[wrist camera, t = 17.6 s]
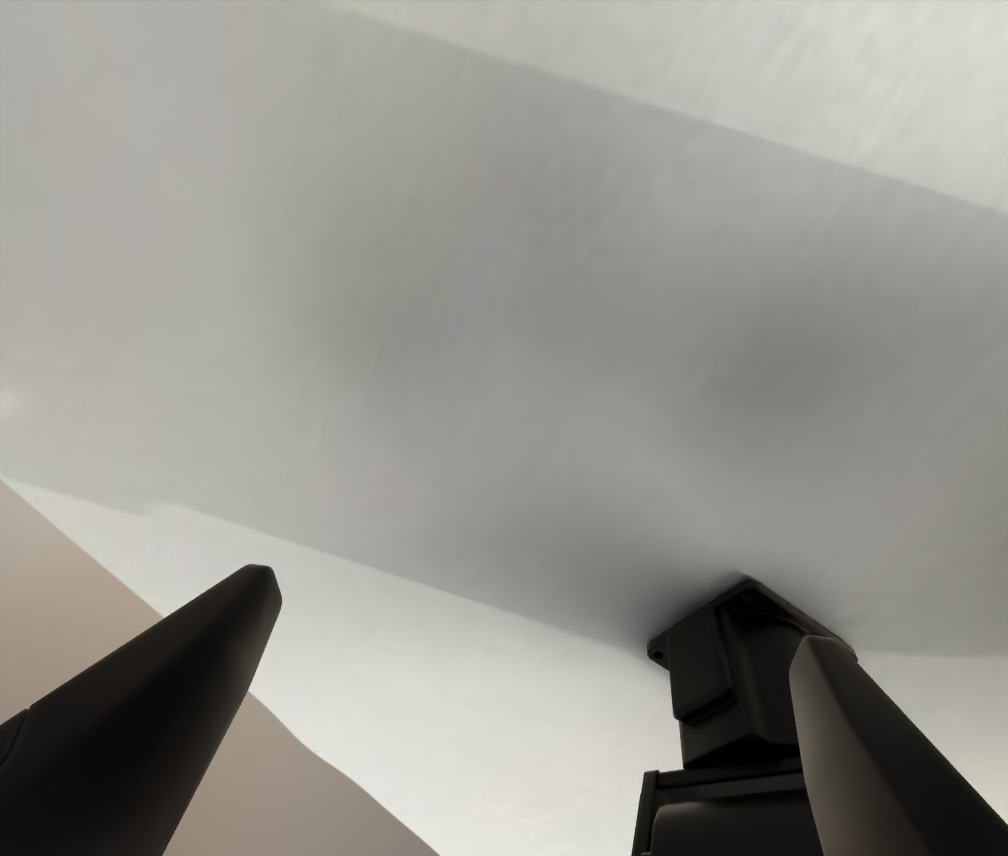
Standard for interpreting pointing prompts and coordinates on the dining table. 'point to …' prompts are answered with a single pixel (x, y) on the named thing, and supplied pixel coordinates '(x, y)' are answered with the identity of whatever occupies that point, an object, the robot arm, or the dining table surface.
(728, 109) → the dining table surface
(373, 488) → the dining table surface
